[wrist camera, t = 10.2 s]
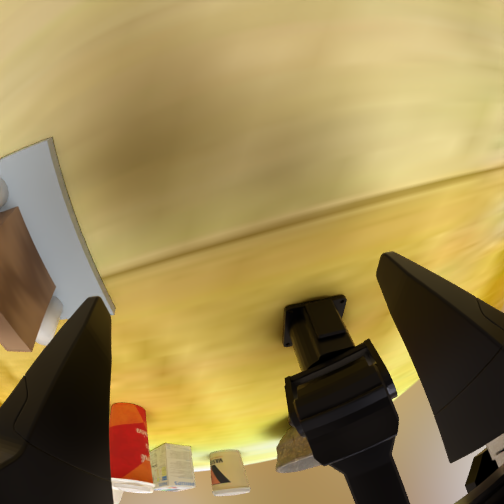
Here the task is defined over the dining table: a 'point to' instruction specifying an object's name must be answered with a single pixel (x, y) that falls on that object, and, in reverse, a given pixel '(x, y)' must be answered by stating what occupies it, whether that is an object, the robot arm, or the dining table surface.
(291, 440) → the bowl
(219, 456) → the coffee cup
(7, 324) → the brown box shape
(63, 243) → the wall panel
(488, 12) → the dining table surface
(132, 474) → the paper cup
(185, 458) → the light bulb box
